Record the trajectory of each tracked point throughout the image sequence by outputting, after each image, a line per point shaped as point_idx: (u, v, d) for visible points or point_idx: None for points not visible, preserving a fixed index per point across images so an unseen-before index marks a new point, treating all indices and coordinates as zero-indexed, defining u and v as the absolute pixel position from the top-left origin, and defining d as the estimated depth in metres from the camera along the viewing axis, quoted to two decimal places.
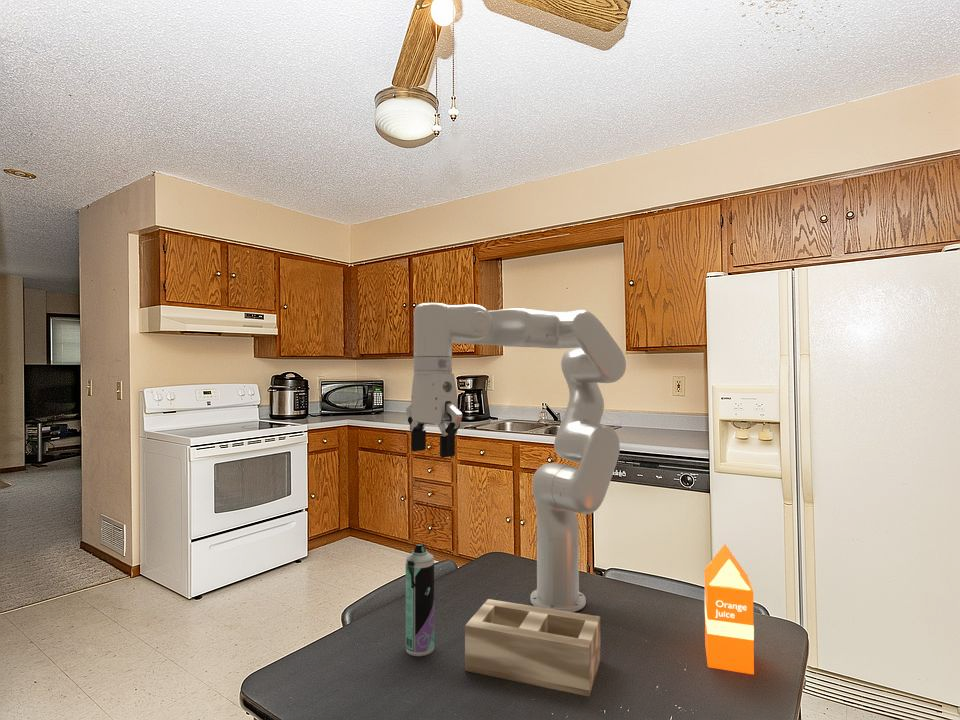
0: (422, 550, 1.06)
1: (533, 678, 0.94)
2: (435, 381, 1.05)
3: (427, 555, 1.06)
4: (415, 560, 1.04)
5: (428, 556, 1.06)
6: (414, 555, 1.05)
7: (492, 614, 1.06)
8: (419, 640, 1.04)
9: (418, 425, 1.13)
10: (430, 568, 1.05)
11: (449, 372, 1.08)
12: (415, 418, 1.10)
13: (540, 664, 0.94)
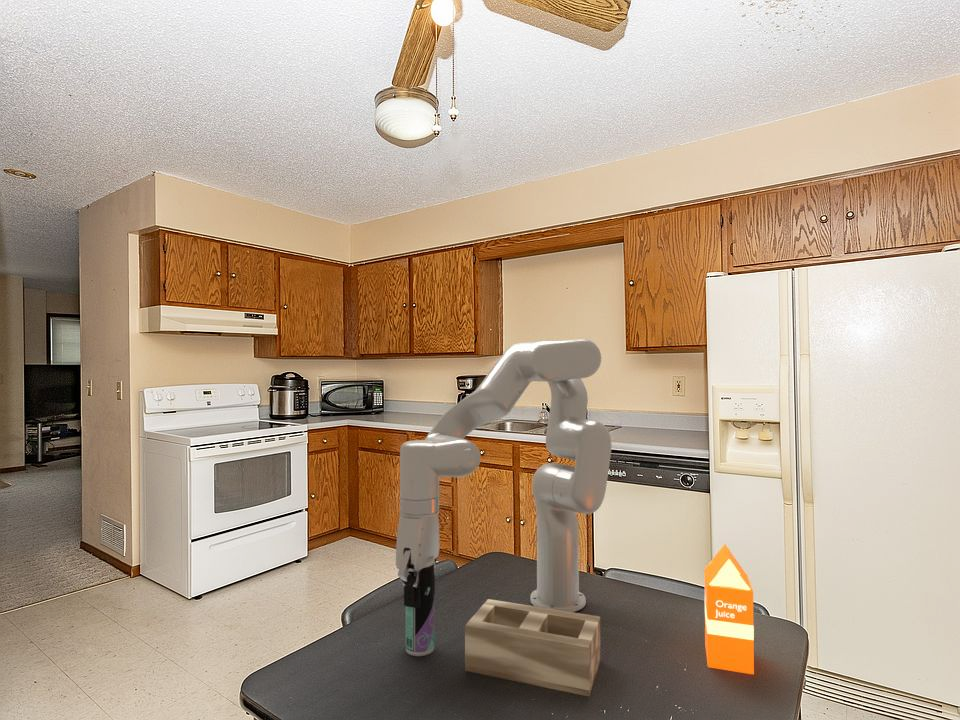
0: None
1: (533, 678, 0.94)
2: (437, 516, 1.09)
3: None
4: None
5: None
6: None
7: (492, 614, 1.06)
8: (419, 640, 1.04)
9: None
10: (430, 568, 1.05)
11: None
12: (422, 565, 1.03)
13: (540, 664, 0.94)
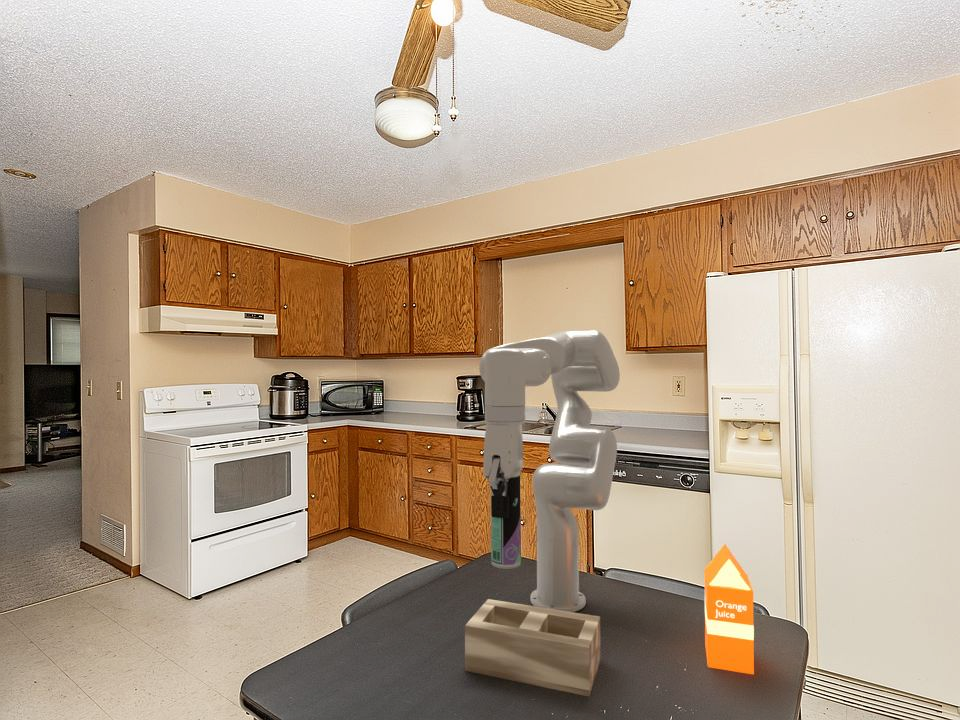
0: None
1: (533, 678, 0.94)
2: (521, 428, 1.06)
3: None
4: None
5: None
6: None
7: (492, 614, 1.06)
8: (507, 552, 1.00)
9: None
10: (517, 478, 1.01)
11: None
12: (511, 474, 0.99)
13: (540, 664, 0.94)
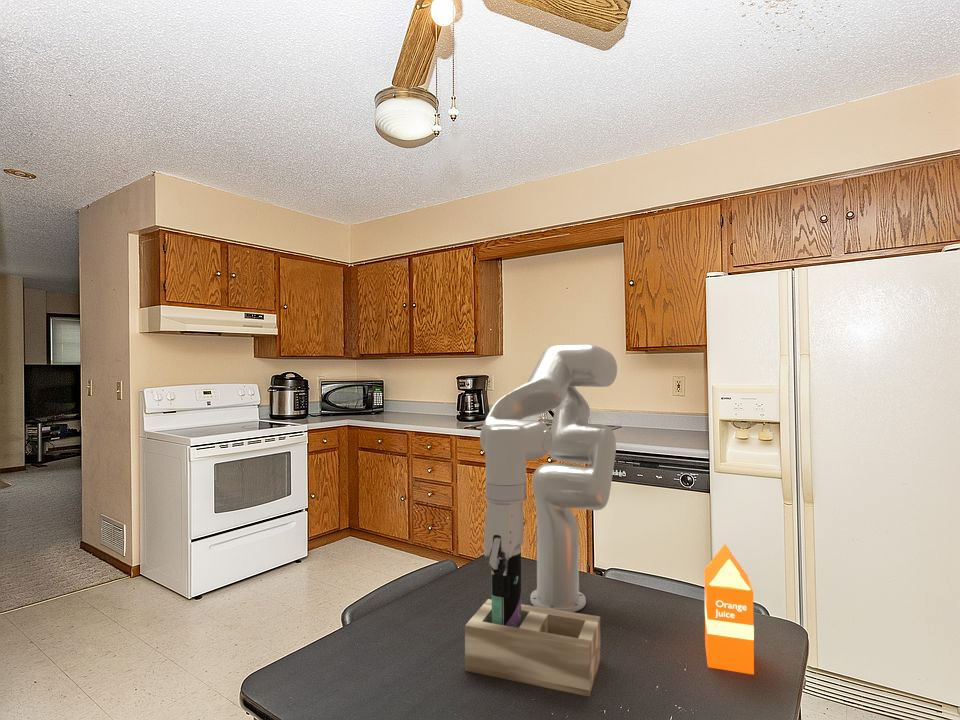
0: None
1: (533, 678, 0.94)
2: (522, 503, 1.05)
3: None
4: None
5: None
6: None
7: None
8: None
9: None
10: (518, 556, 1.01)
11: None
12: (511, 553, 0.99)
13: (540, 664, 0.94)
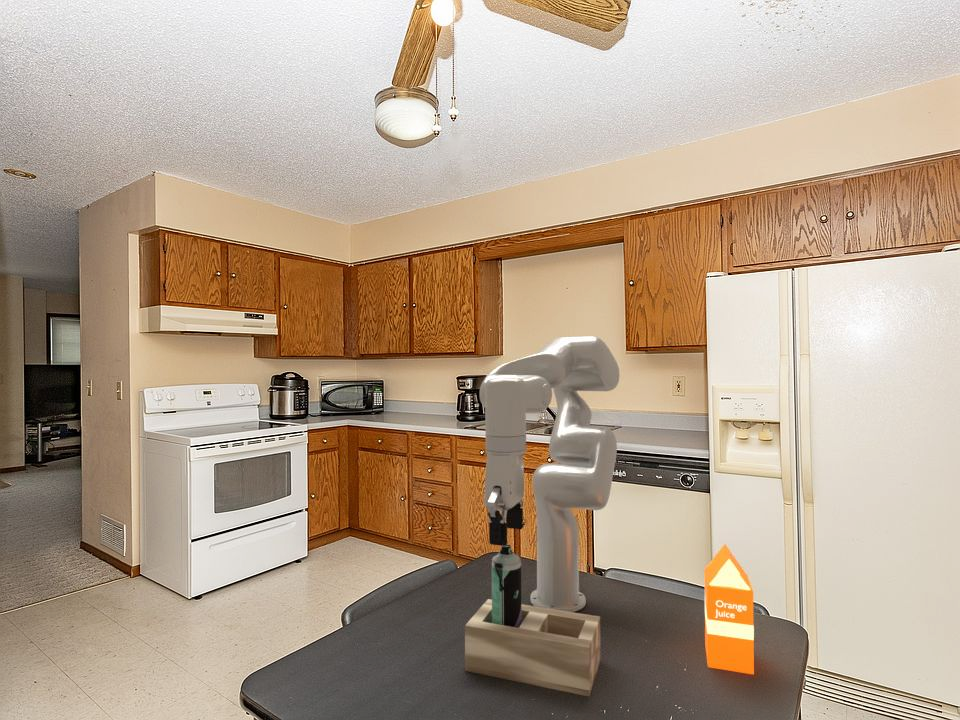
0: (509, 552, 1.02)
1: (533, 678, 0.94)
2: (522, 456, 1.06)
3: (514, 557, 1.02)
4: (503, 562, 1.00)
5: (515, 558, 1.02)
6: (501, 557, 1.01)
7: None
8: None
9: None
10: (518, 570, 1.01)
11: None
12: (512, 504, 0.99)
13: (540, 664, 0.94)
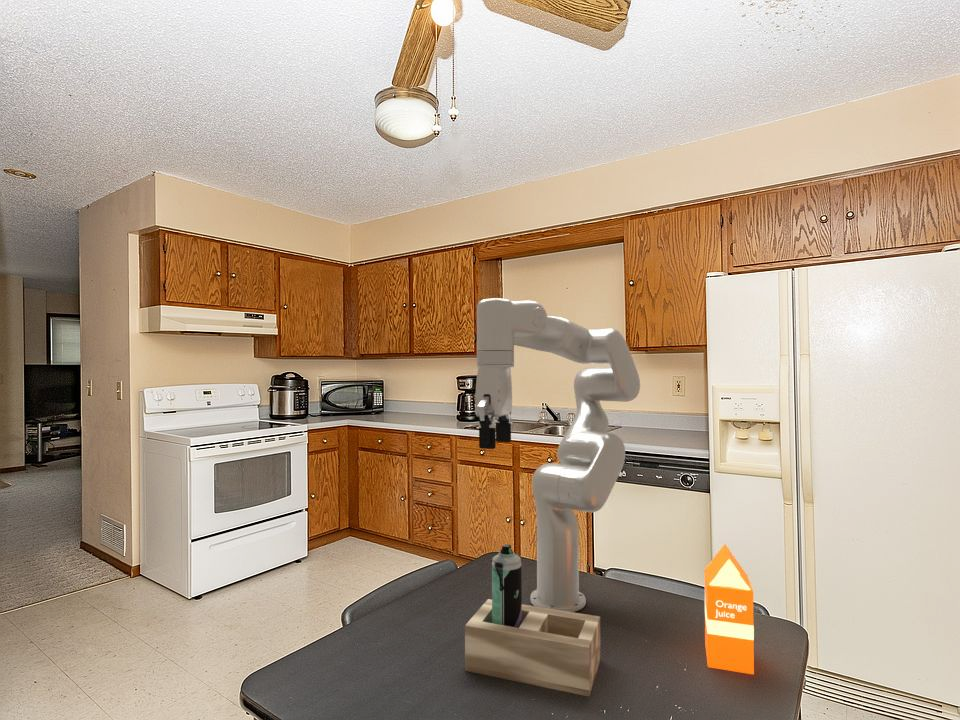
0: (509, 551, 1.02)
1: (533, 678, 0.94)
2: None
3: (515, 556, 1.02)
4: (504, 561, 1.01)
5: (516, 558, 1.02)
6: (502, 556, 1.02)
7: None
8: None
9: None
10: (518, 570, 1.01)
11: None
12: (500, 412, 1.08)
13: (540, 664, 0.94)
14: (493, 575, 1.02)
